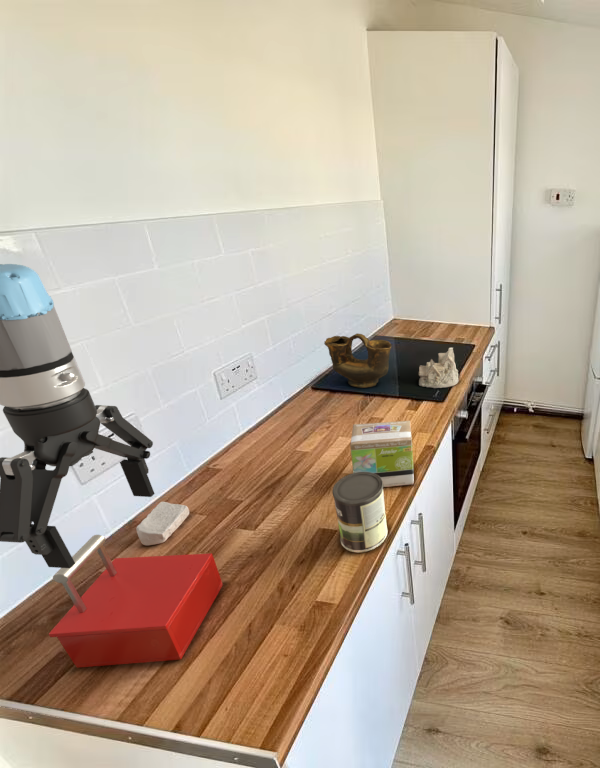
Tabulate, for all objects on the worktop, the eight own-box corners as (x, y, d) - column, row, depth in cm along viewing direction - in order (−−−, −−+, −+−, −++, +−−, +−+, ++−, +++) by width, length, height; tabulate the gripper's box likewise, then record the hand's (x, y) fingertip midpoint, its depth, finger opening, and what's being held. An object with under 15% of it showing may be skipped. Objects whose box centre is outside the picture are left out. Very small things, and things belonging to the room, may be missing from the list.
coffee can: (341, 558, 92) (332, 507, 86) (340, 524, 101) (332, 476, 94) (390, 546, 95) (385, 497, 89) (385, 515, 104) (380, 467, 98)
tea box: (355, 492, 111) (348, 444, 104) (357, 468, 119) (351, 423, 113) (414, 485, 114) (412, 438, 108) (413, 462, 123) (410, 418, 117)
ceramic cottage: (460, 371, 181) (458, 337, 174) (456, 390, 166) (453, 354, 159) (423, 371, 181) (419, 338, 174) (416, 390, 166) (411, 355, 159)
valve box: (76, 668, 70) (56, 637, 66) (136, 590, 83) (122, 561, 79) (181, 659, 72) (167, 629, 68) (223, 584, 85) (213, 556, 81)
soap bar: (165, 554, 95) (159, 542, 91) (133, 548, 94) (126, 536, 90) (192, 513, 102) (188, 501, 98) (163, 507, 101) (157, 494, 97)
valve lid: (50, 637, 66) (21, 594, 62) (116, 561, 79) (96, 520, 75) (166, 629, 68) (147, 586, 64) (213, 556, 81) (199, 516, 77)
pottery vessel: (324, 385, 163) (317, 336, 154) (337, 374, 173) (331, 326, 164) (389, 391, 162) (385, 341, 153) (398, 379, 171) (395, 331, 163)
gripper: (-43, 458, 41) (48, 606, 51) (154, 358, 64) (192, 473, 73) (-123, 454, 41) (-17, 603, 51) (103, 355, 64) (148, 471, 73)
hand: (107, 526), depth 62 cm, fingers open, 13 cm apart
